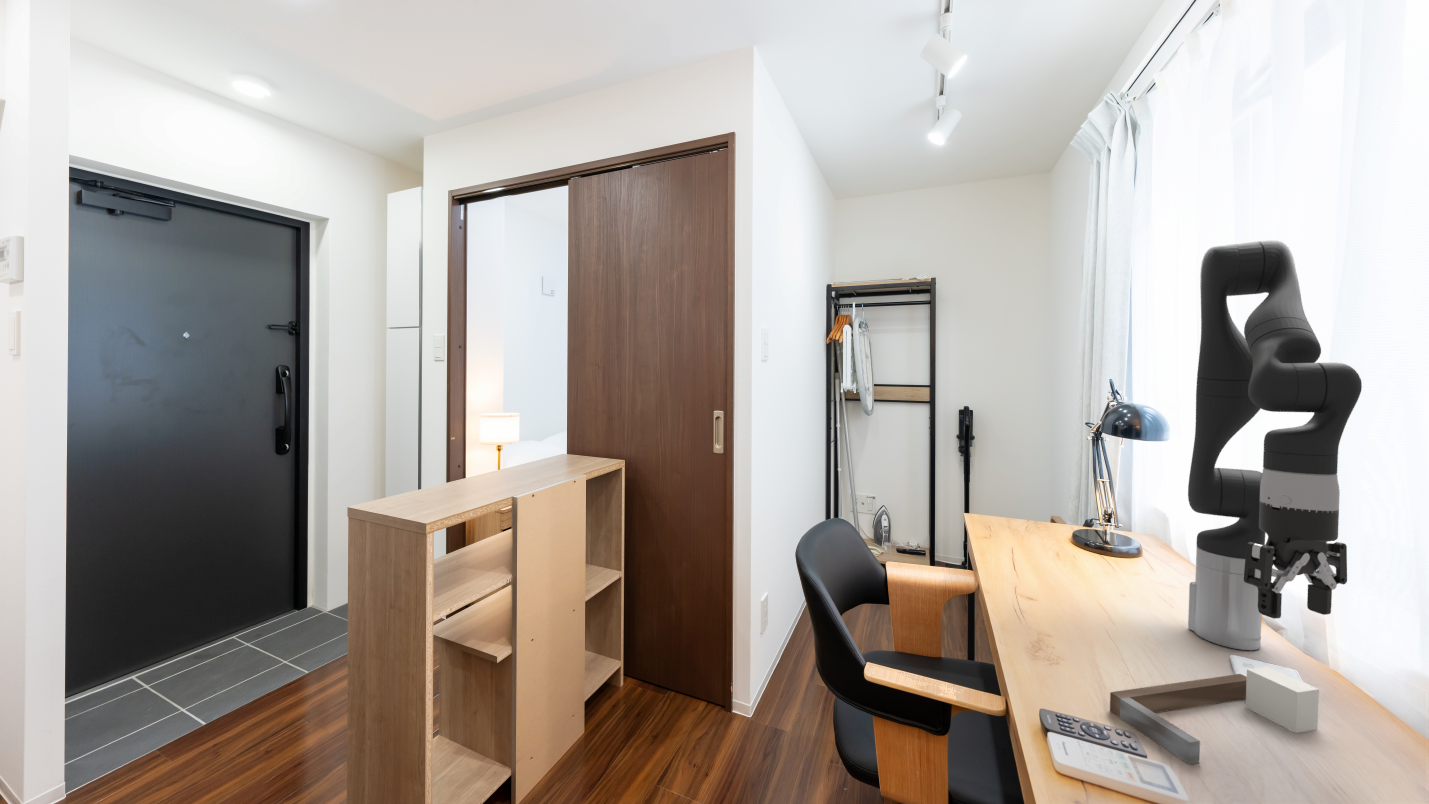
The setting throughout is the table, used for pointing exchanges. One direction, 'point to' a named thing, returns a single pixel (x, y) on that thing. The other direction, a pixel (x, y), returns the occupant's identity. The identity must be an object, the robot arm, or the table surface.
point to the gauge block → (1282, 699)
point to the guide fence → (1147, 701)
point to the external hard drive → (1258, 666)
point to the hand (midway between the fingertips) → (1294, 614)
